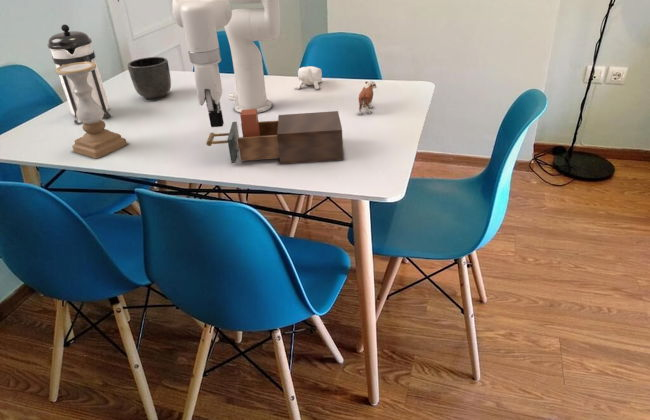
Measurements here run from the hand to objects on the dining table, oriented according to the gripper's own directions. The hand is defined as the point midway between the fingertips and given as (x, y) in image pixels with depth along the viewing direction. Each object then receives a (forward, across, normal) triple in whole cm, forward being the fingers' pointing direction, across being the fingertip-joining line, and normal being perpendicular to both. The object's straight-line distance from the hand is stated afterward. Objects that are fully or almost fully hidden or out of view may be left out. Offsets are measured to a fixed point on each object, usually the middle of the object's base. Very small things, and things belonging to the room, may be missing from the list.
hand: (217, 125), depth 131 cm
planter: (+10, -56, -32) cm, 66 cm away
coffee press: (+10, -41, -50) cm, 65 cm away
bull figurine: (+10, -29, +44) cm, 53 cm away
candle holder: (+9, -12, -37) cm, 40 cm away
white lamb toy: (+10, -56, +25) cm, 63 cm away
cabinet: (+9, +1, +24) cm, 26 cm away
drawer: (+8, +1, +8) cm, 11 cm away
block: (+7, +1, +9) cm, 11 cm away
